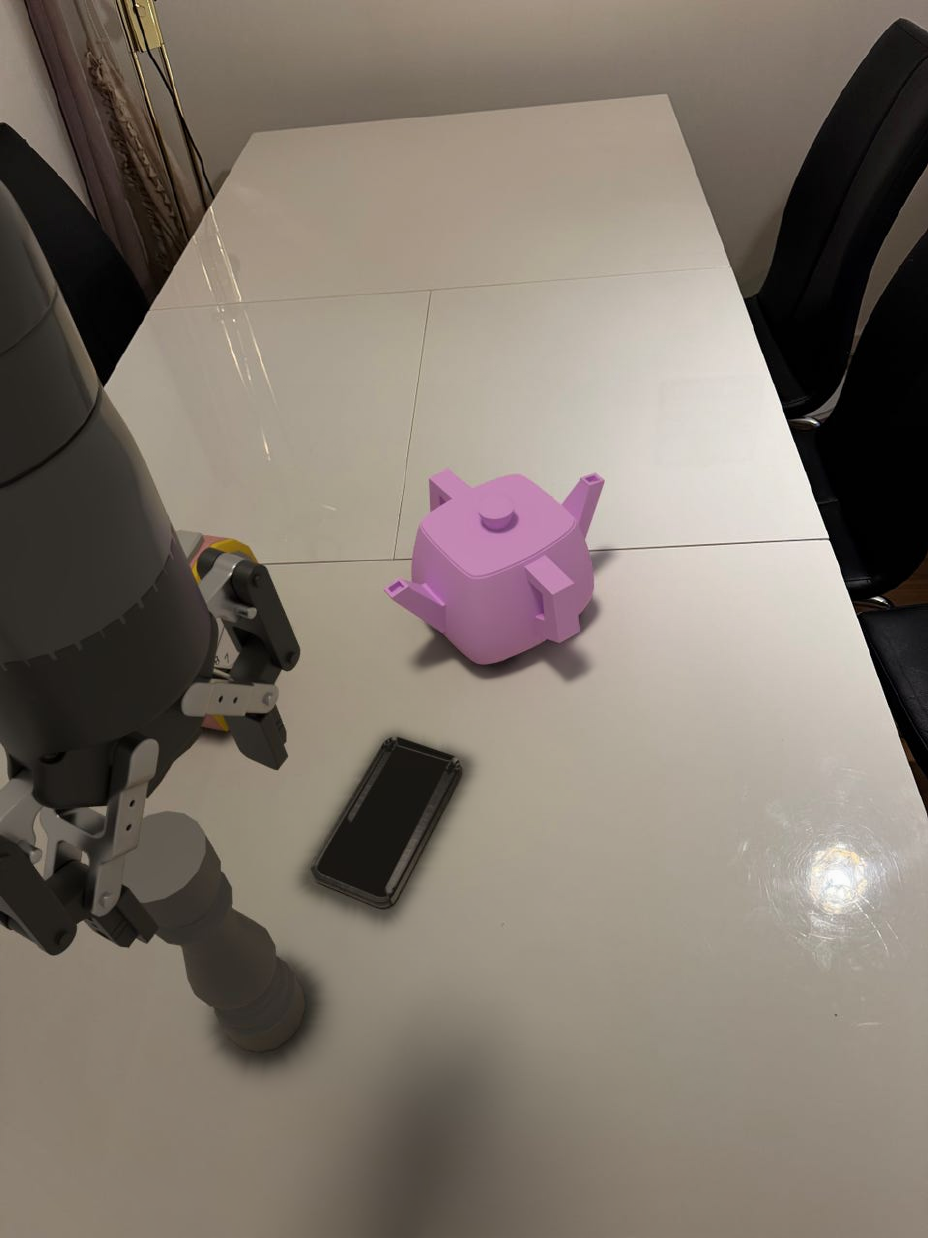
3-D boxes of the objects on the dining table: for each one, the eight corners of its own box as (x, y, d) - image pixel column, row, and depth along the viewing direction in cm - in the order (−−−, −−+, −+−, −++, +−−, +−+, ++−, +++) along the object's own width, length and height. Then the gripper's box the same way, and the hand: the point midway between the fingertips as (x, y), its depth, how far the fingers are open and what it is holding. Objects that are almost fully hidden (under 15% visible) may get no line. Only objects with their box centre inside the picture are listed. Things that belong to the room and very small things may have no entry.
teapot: (398, 677, 91) (374, 570, 80) (429, 549, 103) (412, 440, 92) (593, 689, 88) (596, 580, 77) (602, 556, 100) (606, 445, 89)
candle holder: (300, 1050, 68) (199, 905, 50) (219, 1053, 68) (88, 910, 50) (309, 967, 72) (219, 804, 54) (232, 970, 73) (116, 809, 54)
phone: (464, 759, 82) (387, 906, 74) (465, 766, 83) (389, 912, 75) (387, 733, 85) (304, 872, 76) (389, 740, 86) (307, 878, 77)
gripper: (111, 391, 31) (238, 684, 43) (-273, 693, 23) (12, 950, 35) (289, 441, 29) (371, 739, 40) (-79, 804, 20) (160, 1042, 32)
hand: (204, 837), depth 38 cm, fingers open, 8 cm apart
